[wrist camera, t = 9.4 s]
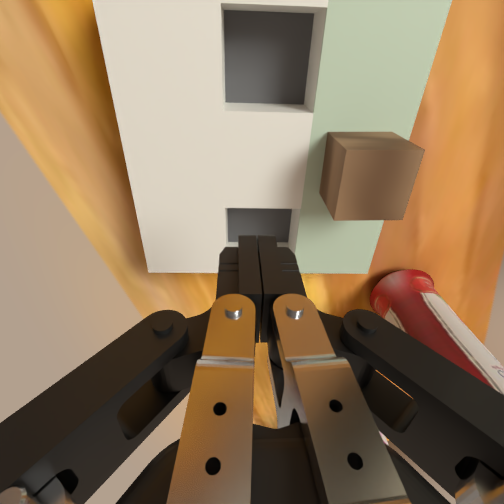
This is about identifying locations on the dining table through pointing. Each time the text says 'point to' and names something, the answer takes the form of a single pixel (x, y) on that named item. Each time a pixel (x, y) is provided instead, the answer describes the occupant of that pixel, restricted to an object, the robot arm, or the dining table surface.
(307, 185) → the trap plank
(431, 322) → the liquor
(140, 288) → the dining table surface
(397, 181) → the walnut block
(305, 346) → the robot arm
